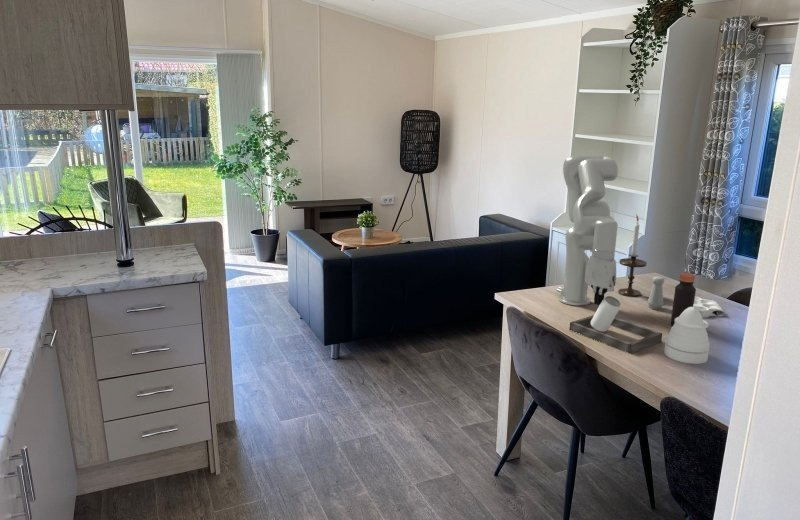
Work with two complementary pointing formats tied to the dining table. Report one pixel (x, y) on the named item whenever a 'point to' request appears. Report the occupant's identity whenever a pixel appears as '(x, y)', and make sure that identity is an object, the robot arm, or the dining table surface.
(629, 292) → the candlestick
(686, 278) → the bottle
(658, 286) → the salt shaker
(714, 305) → the white crumpled cloth
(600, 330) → the can
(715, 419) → the dining table surface
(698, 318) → the honey pot
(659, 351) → the dining table surface
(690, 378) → the dining table surface
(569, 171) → the robot arm
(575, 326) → the frame
